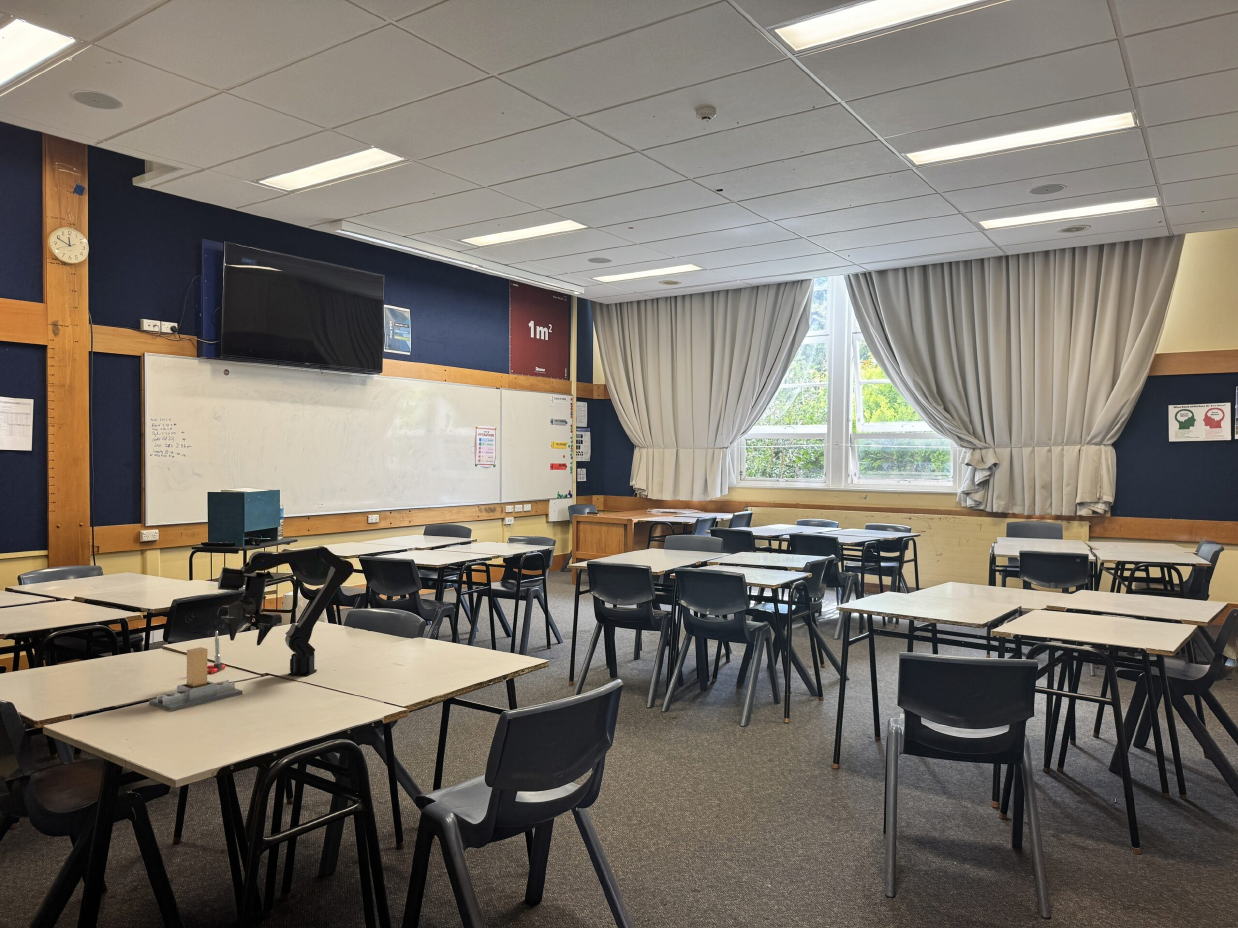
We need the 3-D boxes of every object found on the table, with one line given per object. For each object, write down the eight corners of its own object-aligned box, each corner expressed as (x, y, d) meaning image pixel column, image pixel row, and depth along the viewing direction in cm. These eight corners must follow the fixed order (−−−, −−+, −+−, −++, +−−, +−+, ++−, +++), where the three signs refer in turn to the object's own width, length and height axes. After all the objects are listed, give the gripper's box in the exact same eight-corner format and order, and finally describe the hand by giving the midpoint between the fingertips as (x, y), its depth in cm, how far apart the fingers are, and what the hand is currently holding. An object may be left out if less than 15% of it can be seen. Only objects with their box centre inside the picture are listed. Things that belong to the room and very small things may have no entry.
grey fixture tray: (220, 687, 235) (220, 673, 235) (242, 693, 228) (242, 680, 228) (149, 703, 219) (149, 689, 219) (171, 711, 212) (171, 696, 212)
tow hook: (184, 675, 250) (213, 674, 249) (183, 634, 250) (211, 633, 249) (200, 668, 258) (227, 668, 257) (198, 629, 258) (226, 628, 258)
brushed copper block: (200, 692, 226) (201, 647, 226) (207, 694, 224) (207, 648, 224) (186, 695, 223) (186, 649, 223) (193, 697, 221) (193, 651, 221)
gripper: (209, 588, 238) (200, 640, 236) (264, 598, 234) (254, 651, 232) (234, 587, 248) (225, 636, 247) (286, 596, 245) (278, 646, 243)
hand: (245, 642), depth 242 cm, fingers open, 9 cm apart
